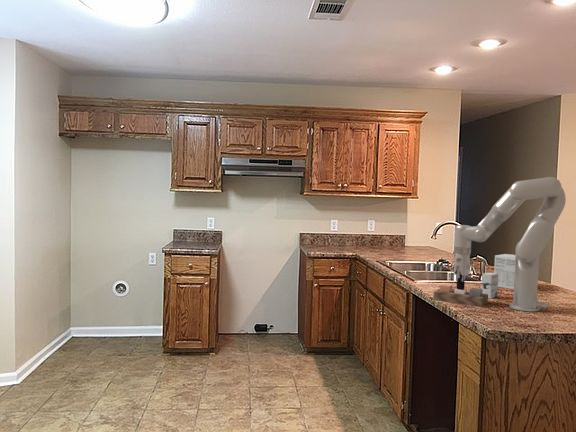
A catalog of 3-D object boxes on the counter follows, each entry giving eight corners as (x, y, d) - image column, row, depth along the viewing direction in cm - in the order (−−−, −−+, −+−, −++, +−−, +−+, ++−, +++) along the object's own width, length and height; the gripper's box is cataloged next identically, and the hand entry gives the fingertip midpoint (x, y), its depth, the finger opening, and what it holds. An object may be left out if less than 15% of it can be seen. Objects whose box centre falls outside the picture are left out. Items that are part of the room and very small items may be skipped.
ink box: (488, 294, 248) (489, 271, 247) (497, 296, 244) (498, 273, 244) (480, 297, 242) (481, 273, 241) (490, 298, 238) (491, 275, 238)
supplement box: (516, 290, 262) (518, 258, 261) (492, 286, 272) (494, 255, 271) (527, 287, 271) (528, 256, 270) (503, 283, 281) (505, 253, 280)
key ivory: (466, 297, 231) (467, 289, 231) (464, 299, 228) (464, 290, 227) (457, 296, 234) (457, 288, 234) (454, 297, 230) (454, 289, 230)
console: (487, 302, 229) (488, 294, 229) (481, 307, 219) (481, 298, 219) (441, 295, 242) (442, 287, 242) (433, 299, 232) (433, 291, 232)
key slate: (482, 297, 227) (482, 289, 227) (479, 299, 223) (480, 290, 223) (472, 296, 230) (472, 288, 230) (469, 297, 226) (469, 289, 226)
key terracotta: (452, 293, 235) (452, 285, 235) (449, 294, 232) (449, 286, 231) (442, 291, 238) (443, 283, 238) (439, 293, 234) (440, 285, 234)
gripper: (465, 253, 221) (463, 292, 222) (474, 250, 233) (472, 288, 234) (449, 251, 226) (447, 290, 227) (459, 249, 238) (457, 286, 239)
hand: (460, 289), depth 231 cm, fingers closed
